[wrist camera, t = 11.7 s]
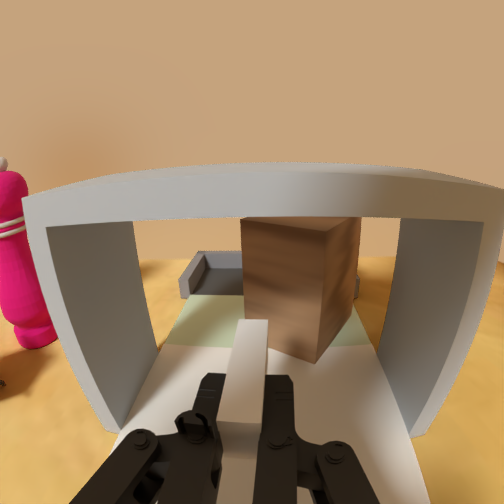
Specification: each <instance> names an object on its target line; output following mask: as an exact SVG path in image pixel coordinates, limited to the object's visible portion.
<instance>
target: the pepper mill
mask: <svg viewBox="0 0 504 504" xmlns="http://www.w3.org/2000/svg"><path fill="white" fill-rule="evenodd" d="M7 166H8V163H7V160H6V159H5V158H4V157H0V306H1V310H2V313H3V315H4V317H5V318H6V320H8V321H9V322H10V323H12V324H13V325H15V326H14V332H15V335H16V337H17V339H18V342H19V344H20V345H21V346H23V347H24V348H28V349H35V348H40V347H43V346H45V345H47V344H49V343H51V342H53V341H54V340H55V339H56V338H57V337H58V335H57V333H56V330H55V328H54V325H53V322H52V320H51V317H50V314H49V311H48V308H47V305H46V302H45V299H44V296H43V293H42V290H41V287H40V283H39V280H38V276H37V273H36V269H35V265H34V261H33V257H32V253H31V250H30V246H29V243H28V239H27V231H26V224H25V218H24V212H23V206H22V199H21V198H23V197H26V196H28V187H27V184H26V181H25V180H24V178H23V177H22V176H21V175H20V174H19V173H16V172H13V171H6V169H7Z"/></svg>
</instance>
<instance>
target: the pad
mask: <svg viewBox="0 0 504 504" xmlns="http://www.w3.org/2000/svg"><path fill="white" fill-rule="evenodd" d="M239 319H245V313H244V296H238V295H190V296H189V298H188V299H187V301H186V303H185V305H184V307H183V309H182V311H181V313H180V315H179V316H178V318H177V320H176V322H175V324H174V326H173V328H172V330H171V332H170V334H169V336H168V338H167V340H166V341H165V343H164V344H174V345H187V346H202V347H223V348H232V347H233V342H234V338H235V333H236V329H237V324H238V320H239ZM367 344H371V342H370V340H369V337H368V335H367V333H366V331H365V328H364V326H363V324H362V322H361V320H360V318H359V315H358V313H357V311H356V309H355V307H354V305H353V307H352V314H351V316H350V318H349V319H348V320H347V322H346V323H345V325H344V326H343V327H342V329H341V330H340V332H339V333H338V334H337V336H336V337H335V339H334V340H333V341H332V343H331V344H330V345H329V347H339V346H355V345H367ZM268 348H269V347H268Z"/></svg>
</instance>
